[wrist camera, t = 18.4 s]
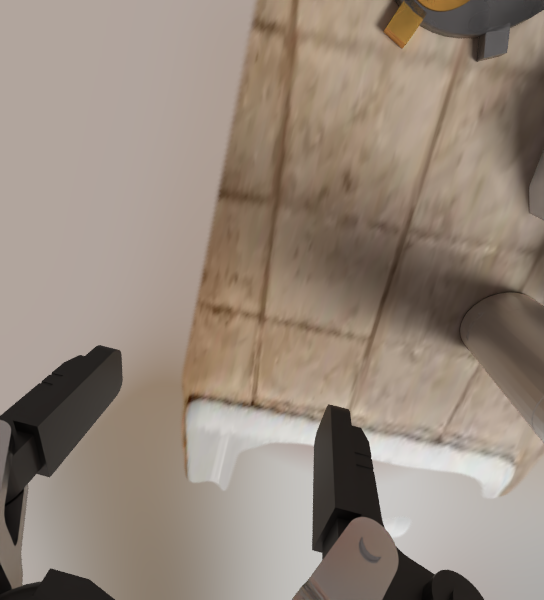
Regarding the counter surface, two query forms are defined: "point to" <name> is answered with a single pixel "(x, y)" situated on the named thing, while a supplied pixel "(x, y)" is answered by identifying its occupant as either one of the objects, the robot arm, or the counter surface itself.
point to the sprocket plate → (463, 21)
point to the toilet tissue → (537, 190)
